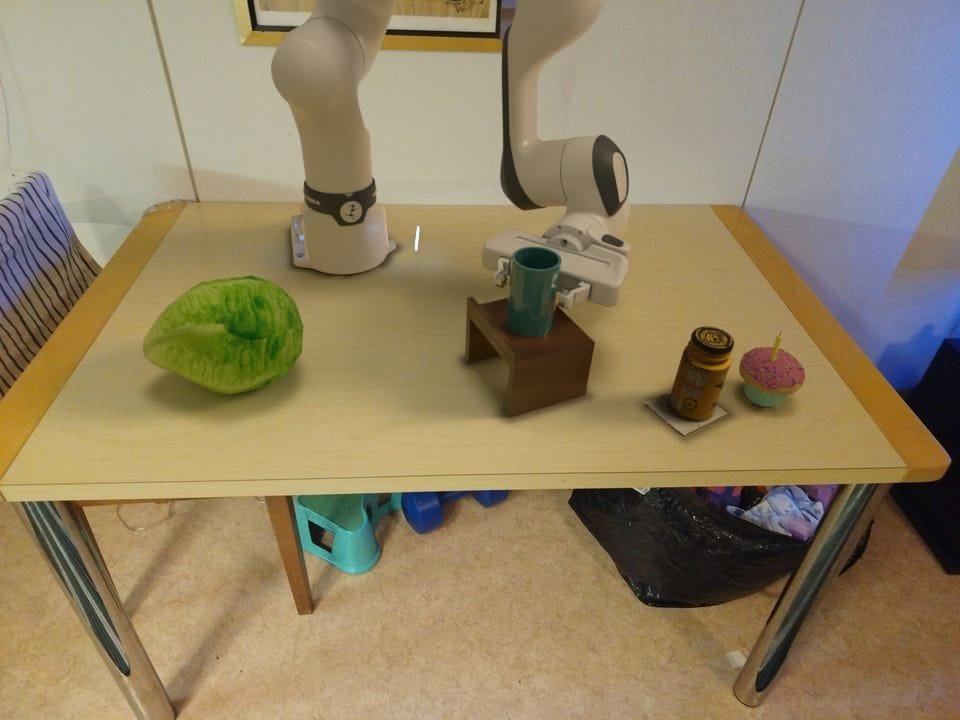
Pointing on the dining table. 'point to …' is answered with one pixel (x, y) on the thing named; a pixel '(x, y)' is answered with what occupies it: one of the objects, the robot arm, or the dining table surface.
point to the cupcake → (770, 374)
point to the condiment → (697, 381)
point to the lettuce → (228, 335)
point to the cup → (533, 291)
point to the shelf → (531, 356)
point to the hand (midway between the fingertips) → (529, 292)
